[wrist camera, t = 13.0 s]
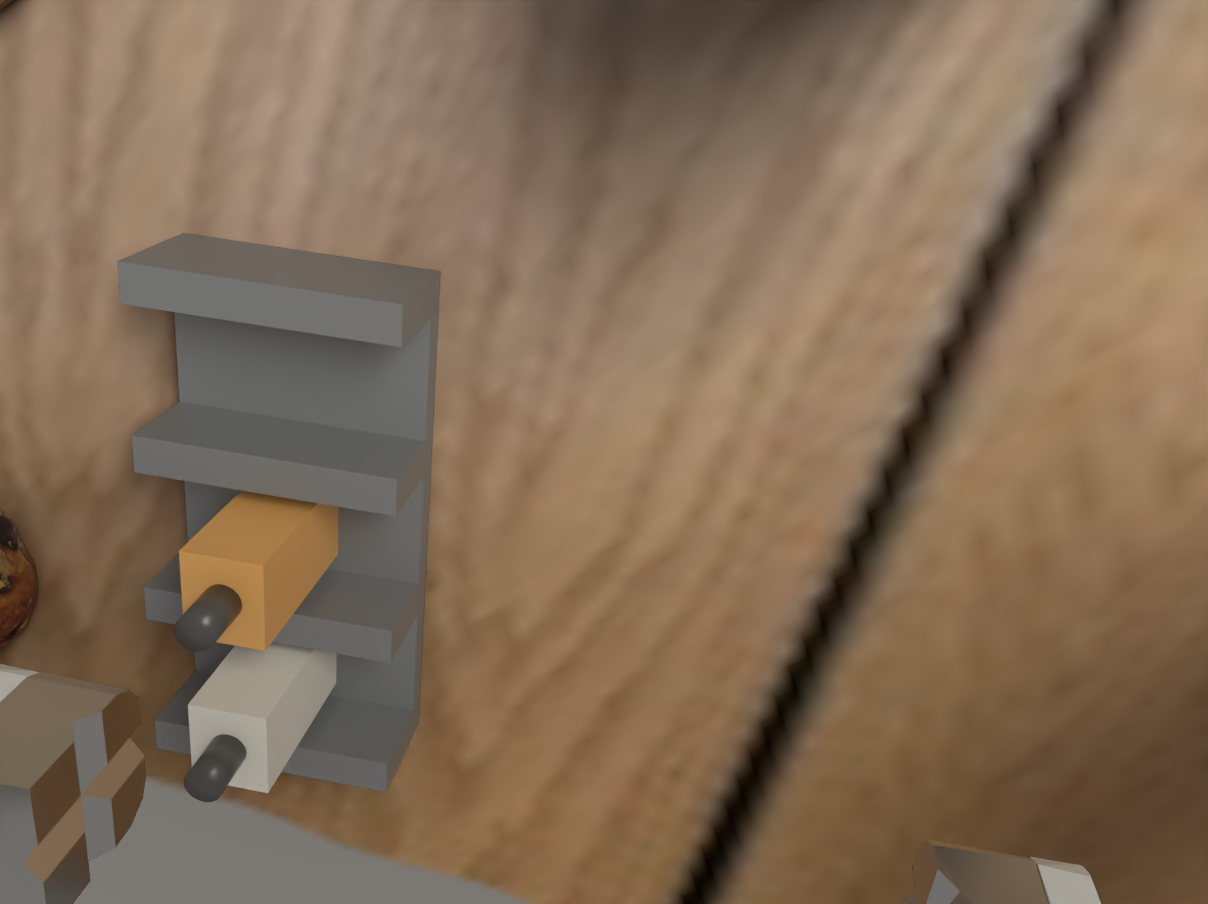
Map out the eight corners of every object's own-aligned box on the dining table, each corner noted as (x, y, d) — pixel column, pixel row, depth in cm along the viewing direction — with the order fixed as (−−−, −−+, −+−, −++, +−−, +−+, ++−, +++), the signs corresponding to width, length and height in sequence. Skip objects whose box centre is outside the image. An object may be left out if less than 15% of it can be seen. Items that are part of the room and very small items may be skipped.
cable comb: (440, 271, 39) (402, 304, 35) (418, 723, 48) (386, 792, 44) (183, 233, 40) (117, 261, 36) (207, 684, 49) (156, 748, 45)
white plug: (336, 615, 45) (241, 755, 37) (336, 682, 46) (244, 831, 38) (268, 603, 45) (159, 739, 37) (270, 670, 47) (165, 816, 38)
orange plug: (338, 478, 42) (236, 596, 34) (338, 554, 44) (239, 685, 36) (266, 466, 42) (147, 580, 34) (268, 542, 44) (154, 669, 36)
